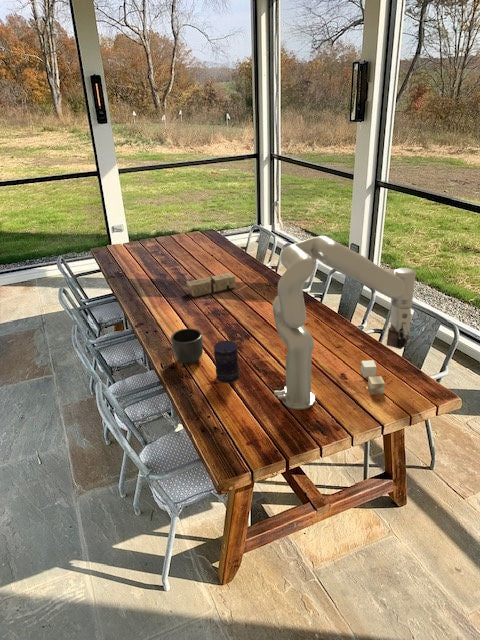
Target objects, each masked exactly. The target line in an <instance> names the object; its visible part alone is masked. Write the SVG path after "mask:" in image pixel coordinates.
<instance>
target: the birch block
mask: <svg viewBox="0 0 480 640" xmlns="http://www.w3.org/2000/svg"><path fill="white" fill-rule="evenodd" d="M367 378H368V379H367V380H368V381H367V389H368V391H369V394H370V395H384V394H385V386H386V383H385V381H384V379H383V377H382V376H381V375H380V376H379V375H376V376H375V377H367Z"/></svg>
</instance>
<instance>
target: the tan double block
mask: <svg viewBox="0 0 480 640" xmlns="http://www.w3.org/2000/svg"><path fill="white" fill-rule="evenodd" d="M186 286H187V287H188V288H189V294H190V295H191V296H192V297H199V296H204V295H207V294H212V293H215V292H220V291H224V290H227V289H229V290H230V289H233V288H234V289H235V288H236V276H235V275H234V274H233V273H229V272H226V273H222V274H217V275H213V276H211V278H210V277H209V276H207V277H204V278H199V279H195V280H190V281H189V280H186Z"/></svg>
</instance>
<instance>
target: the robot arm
mask: <svg viewBox="0 0 480 640" xmlns="http://www.w3.org/2000/svg"><path fill="white" fill-rule="evenodd" d="M316 260H318V261H320V262H321V263H322V264H324V266H326V267H329V268H331V269H333V270H335V271H337V272H339V273H341V274H343V275H344V276H347V277H349V278H351V279H352V280H354V281H356V282H358V283H360V284H361V285H364V286H366V287H368V288H371V289H372V290H374V291H376V292H378V293H379V294H382V295H384V296H385V297H388V298H390V306H391V311H390V318H389V319H390V327H391V326H392V325H393V327H394V328H395V330H396V331H397V332H398V338H397V344H396V347H397V348H396V349H398V348H400V347H403V348H405V347H406V345H405V343H406V337H407V334H408V335H409V332H410V329H411V316H412V310H411V307H413V301H414V289H415V284H416V283H415V282H416V276H417V275H416V271H415V270H414V269H413V268H409V267H399V268H396V269H395V268H394V269H391V268H390V269H388V268H387V269H386V268H384V269H383V268H382V267H380V266H379V265H377V264H375V263H374V262H373V261H372V260H370V259H368V258H367V257H366V256H364V255H362V254H360V253H358V252H357V251H354V250H353V249H350V248H348V247H347V246H345V245H343V244H341V243H340V242H337V241H335V240H334V239H332V238H331V237H329V236H327V235H319V236H316V237H311V238H308V239H305V240H302V241H298V242H295V243H292V244H290V245H287V246H286V247H285V248H284V249H283V250H282V252H281V253H280V262H281V264H282V266H283V267H284V268H285V269H286V270H285V271H284V272H283V274H282V275H281V276H280V278H279V280H278V283H277V296H275V298H274V300H273V302H272V313H273V318H274V322H275V323H274V324H275V327H276V328H275V329H276V331H277V334H278V337H279V338H280V339H281V341H282V342H283V343H284V345H285V347H286V349H287V351H286V352H287V353H286V356H285V386H284V389H282V390H273V393H274V397H276V396H277V400H278V399H279V400H281V399H282V403H283V404H284V405H285V406H286V407H287V408H289V409H292V410H299V411H300V410H301V411H302V410H307V409H309V408H311V407H312V406H313V405H314V404H315V402H316V401H315V400H316V397H315V394H314V393H312V356H313V351H314V350H313V349H314V346H315V345H314V344H315V343H314V338H313V336H312V334H311V333H310V332H309V330H308V329H307V328H306V327H305V326H304V325H305V323H306V320H307V310H306V304H305V298H304V291H303V290H304V289H303V288H304V285H305V283H306V281H308V279H309V278H310V277H311V276H312V275H313V274H314V271H315V269H316V262H315V261H316ZM400 329H402V330H400ZM400 332H403V334H401V335H400ZM406 344H407V343H406Z"/></svg>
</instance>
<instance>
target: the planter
mask: <svg viewBox="0 0 480 640" xmlns="http://www.w3.org/2000/svg"><path fill="white" fill-rule="evenodd" d="M203 341H204V340H203V333H202V331H200V330H198V329H197V328H183V329H179V330H177V331H175V332H174V333H172V335H171V336H170V342H171V348H172V352H173V356H174V357H175V359H176V360H177V361H178V362H180V363H181V364H182V365H184V366H185V365H186V366H189V365H194V364H195V363H198V361H199V360H200V359H201V358H202V355H203V351H204V350H203V349H204V347H203V346H204V344H203V343H204V342H203Z"/></svg>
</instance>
